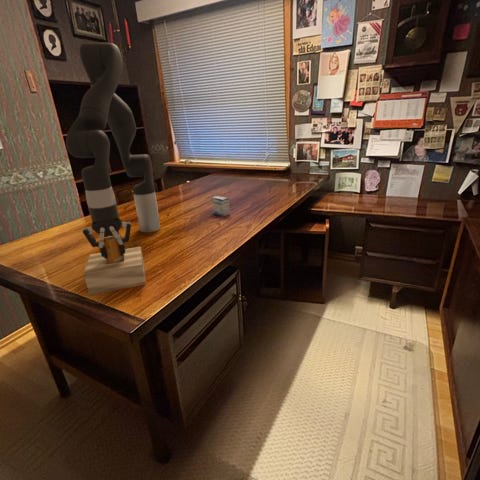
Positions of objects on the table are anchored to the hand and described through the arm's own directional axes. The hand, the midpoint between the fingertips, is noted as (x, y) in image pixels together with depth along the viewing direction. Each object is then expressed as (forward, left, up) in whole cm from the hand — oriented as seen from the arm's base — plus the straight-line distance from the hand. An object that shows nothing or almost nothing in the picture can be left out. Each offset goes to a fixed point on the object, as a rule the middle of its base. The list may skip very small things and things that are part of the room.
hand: (114, 255), depth 94 cm
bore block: (0, 0, -8) cm, 8 cm away
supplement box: (0, 0, -4) cm, 4 cm away
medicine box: (-51, +48, -8) cm, 70 cm away
